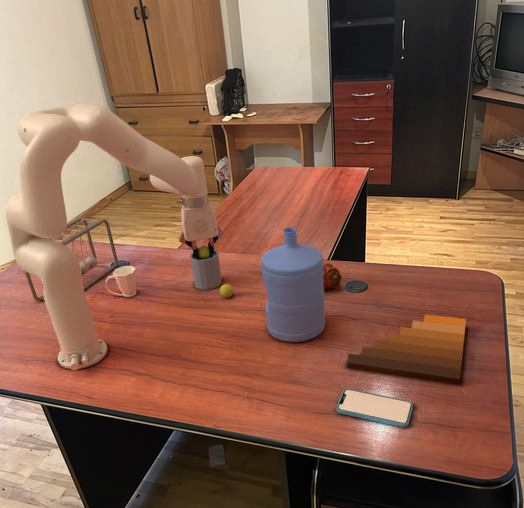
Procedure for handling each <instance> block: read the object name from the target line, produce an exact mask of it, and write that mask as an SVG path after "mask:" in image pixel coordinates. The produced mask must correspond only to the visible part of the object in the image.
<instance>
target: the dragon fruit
mask: <svg viewBox="0 0 524 508" xmlns="http://www.w3.org/2000/svg"><path fill="white" fill-rule="evenodd" d="M323 264H324V271H323V284H324V289H326V290H331V289H332V288H335V287H338V286H339V285H340V284H341V283H342V282H341V280H342V274H341V272H340V270H339V269H338V268H337V267H335V266H334V265H333V264H331V263H330V262H323Z"/></svg>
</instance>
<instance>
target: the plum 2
mask: <svg viewBox="0 0 524 508" xmlns="http://www.w3.org/2000/svg"><path fill="white" fill-rule="evenodd" d="M219 294H220V295H221V296H222V297H223V298H231V296H232V295H234V287H233V286H232V285H231V284H229V283H225V284H222V285H221V286H220V288H219Z"/></svg>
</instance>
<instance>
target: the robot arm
mask: <svg viewBox="0 0 524 508" xmlns="http://www.w3.org/2000/svg"><path fill="white" fill-rule="evenodd" d="M17 133H18V136H19V139H20V141H21V142H22V144H24V146H26V148H25V150H24V152H23V154H22V157H21V160H20V163H19V182H20V189H21V191H20V192H17V193H15V194H14V195H13V196H11V198H10V199H9V201H8V203H7V206H6V211H5V219H6V224H7V230H8V235H9V239H10V244H11V248H12V253H13V256H14V259H15V262H16V264H17V266H18V267H19V268H20V269H21V270H22V271H23V272H24V271H26V272H27V273H29V274H30V276H34V277H36V278H38V279H39V280H40V281H41V283H42V286H43V295H44V303H45V306H46V309H47V312H48V314H49V318H50V321H51V323H52V326H53V330H54V332H55V336H56V339H57V342H58V345H59V347H60V351H59V352H58V354H57V362H58V364H59V366H61V367H63V368H65V369H70V370H71V371H77V370H78V369H85V368H88V367H91V366H93V365H95V364H97V363H99V362H100V361H101V360H103V359H104V358H105V356H107V353H108V346H107V343H106V342H105V341H104V340H102V339H99V337H98V333H97V329H96V326H95V323H94V319H93V316H92V312H91V309H90V306H89V302H88V299H87V296H86V292H85V290H84V288H83V286H84V283H83V279H82V275H81V265H80V262H81V260H80V258H79V255H77V252H75V251H73V250H74V249H72V248H70V246H67V245H63V244H61V243H59V242H57V241H56V239H58V238H60V237H62V236H64V233H65V232H66V231H67V230H66V227H67V224H68V217H67V216H68V215H67V211H66V203H65V199H64V192H63V191H64V190H63V186H62V185H63V184H62V183H63V182H62V171H63V168H64V165H65V163H66V161H67V160H68V158H69V157H70V156H71V155H73V153H74V152H75V151H76V149H78V147H79V145H80V142H81V141H83V142H89V143H92V144H94V145H95V146H97V147H98V148H100V149H101V150H103V151H104V152H105V153H107V154H108V155H110V156H111V157H113V158H114V159H115V160H117V161H118V162H120V163H121V164H122V165H123V166H126V167H128V168H130V169H132V170H135V171H138V172H140V173H144V174H146V175H149V181H150V184H151V185H152V187H154V188H155V189H156V190H158V191H160V192H166V193H170V194H175V195H179V196H181V197H180V198H179V199H177V200H176V202H177V205H182V206H181V208H180V209H181V210H180V211H181V212H180V215H181V216H180V217H181V227H182V229H181V233H180V235H179V238H178V242H179V243H181V244H184V245H185V246H188V247H189V248H191V249H192V253H193V255H194V258H196V259H197V260H200V259H199V253H198V248H199V247H198V246H197V241H202V240H206V239H208V243H207V247H208V248H209V251H210V257H211V258H212V257H213V254H215V253H214V250H215V247H214V246H215V244H216V242H217V241H218V240H219V238H221V237H222V236H223V235H224V234H225V233H224V231H223V230H222V229H221V227H219V225H218V222H217V217H216V212H215V209H214V205H213V203H212V201H210V199H209V192H208V186H207V178H206V172H205V165H204V160H203V159H202V158H201V157H200V156H196V155H189V156H188V155H187V156H183V157H180V156H178V155H177V154H175V153H173V152H171V151H170V150H168V149H166V148H164V147H162V146H161V145H159V144H157V143H156V142H154V141H152V140H149V139H148V138H146V137H145V136H143V135H142V134H141V133H139V132H138V131H137V130H135V128H133V127H132V126H130V125H129V124H128V123H127V122H125V120H123V119H122V118H121V117H119V116H118V115H117V114H115V113H114V112H113V111H111V110H110V109H108V108H107V107H105V106H102V105H99V104H88V103H73V104H67V105H62V106H58V107H53V108H48V109H41V110H36V111H31V112H29V113H26V114H25V115H24V116H22V118H21V119H20V121H19V123H18V125H17ZM65 230H66V231H65ZM50 239H51V240H50ZM52 239H54V240H52Z"/></svg>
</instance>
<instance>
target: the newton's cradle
mask: <svg viewBox="0 0 524 508" xmlns="http://www.w3.org/2000/svg"><path fill="white" fill-rule="evenodd" d="M88 221H90V222H92V223H91V224H88ZM82 222H83V228H82V229H80V230H79V229H78V227H80V223H82ZM102 224H105V228H106V232H107V236H108V240H109V244H110V248H111V252H112V256H113V261H114V262H113V265H108V264H101V263H98V259H97V253H96V251H95V247H94V243H93V240H92V235H91V231H92V230H94V229H96V228H97V227H99V226H100V225H102ZM77 226H78V227H77ZM110 226H111V225H110V222H109V221H108V220H107V219H105V218H103V219H92V218H91V219H90V218H85V217H83V216H80V217H77V218H76V219H74V220H73V221H70V222H69V223H68V222H67V227H66V230H65V232H66V231H67V233H68V234H66V236H67V237H66V238H64V239H62V236H60V237H59V238H60V239H59V242H58V243H61V244H63V245H65V246H67V245H68V244H70V243H71V246H72V248H75V251H76V254H78V255H77V256H78V258H79V261H80V265H81V276H82V275H83V273H88V272H89V270H90V269H91V268H95V267H96V266H101V267H108V269H106V270H104V271H103V272H102V273H100V274H99V275H97V276H96V277H95V278H93V279H92V280H90V281H88V282H87V283H85V284H84V285H83V288H84V291H85V290H87V289H88V288H90V286H93V284H95V283H96V282H98V281H99V280H101V279H102V278H104V277H105V276H106V275H108V274H109V273H110V272H112V271H114V270H115V269H117V268H118V264H119V259H118V256H117V251H116V247H115V243H114V239H113V235H112V230H111V227H110ZM73 227H75V228H76V229H77V230H74V229H72V228H73ZM71 229H72V231H74V232H75V233H73V234H71V233H70V230H71ZM83 235H86V237H87V241H88V248H89V249H90V252H88V249H87V247H86V245H85V243H84V240H83V239H82V236H83ZM78 238H79V241H80V243H82V244H83V246H84V249H85V252H86V254H87V255H88V257H86V259H85V260H82V259H84V254H83V253H81V257H80V254H79V252H78V249H77V248H76V245H75V243H74V241H76V240H77V239H78ZM50 240H52V241H55V239H50ZM83 246H82V245H80V247H81V248H80V250H81V251H83ZM72 250H73V251H74V249H72ZM75 251H74V252H75ZM23 272H24V275H25V278H26V281H27V283H28V287H29V289H30V292H31V295H32V297H33V299H34V300H35V301H37V302H41V301H42V300H44V294H42V295H40V296H38V295H37V292H36V289H35V286H34V283H33V280H32V277H31V274H29V273H27V272H26V271H24V270H23ZM44 301H45V300H44Z"/></svg>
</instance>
